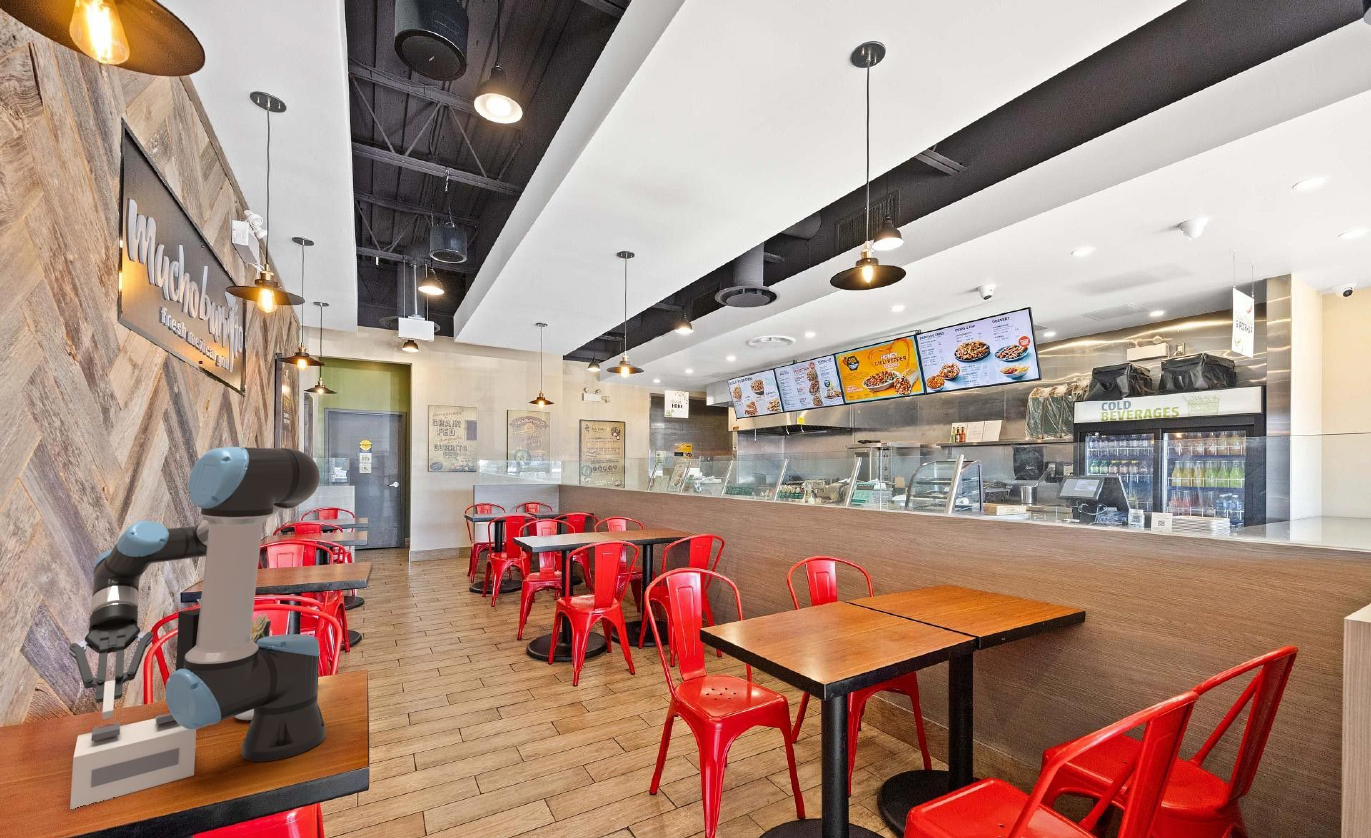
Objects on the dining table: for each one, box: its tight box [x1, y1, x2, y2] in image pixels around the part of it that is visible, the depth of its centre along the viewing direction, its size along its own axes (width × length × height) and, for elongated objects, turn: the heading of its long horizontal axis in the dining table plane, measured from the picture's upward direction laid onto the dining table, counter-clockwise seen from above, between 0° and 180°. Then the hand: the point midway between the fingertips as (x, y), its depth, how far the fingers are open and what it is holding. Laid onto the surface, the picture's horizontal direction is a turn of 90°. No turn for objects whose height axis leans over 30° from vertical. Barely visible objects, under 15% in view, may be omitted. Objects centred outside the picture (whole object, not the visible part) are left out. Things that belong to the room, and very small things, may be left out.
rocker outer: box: [91, 721, 121, 741], centre depth 113 cm, size 6×4×1 cm
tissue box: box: [175, 598, 201, 671], centre depth 149 cm, size 8×8×28 cm
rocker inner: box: [154, 712, 175, 724], centre depth 119 cm, size 6×4×1 cm
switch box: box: [69, 717, 197, 811], centre depth 116 cm, size 12×17×9 cm
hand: (107, 714), depth 115 cm, fingers closed
